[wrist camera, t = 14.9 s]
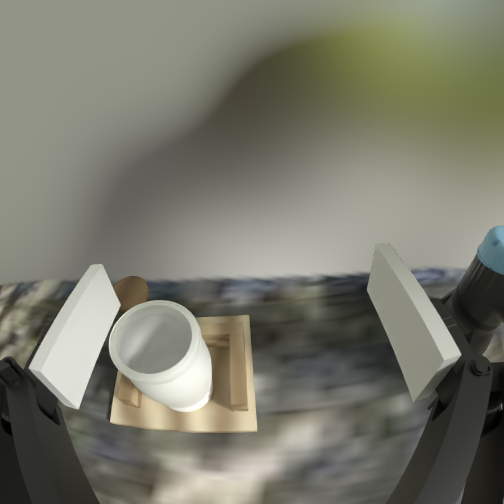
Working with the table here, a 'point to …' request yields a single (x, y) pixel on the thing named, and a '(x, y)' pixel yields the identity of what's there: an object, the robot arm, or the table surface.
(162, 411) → the tan wooden platform
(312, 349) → the table surface
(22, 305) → the table surface
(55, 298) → the table surface
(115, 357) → the jar
